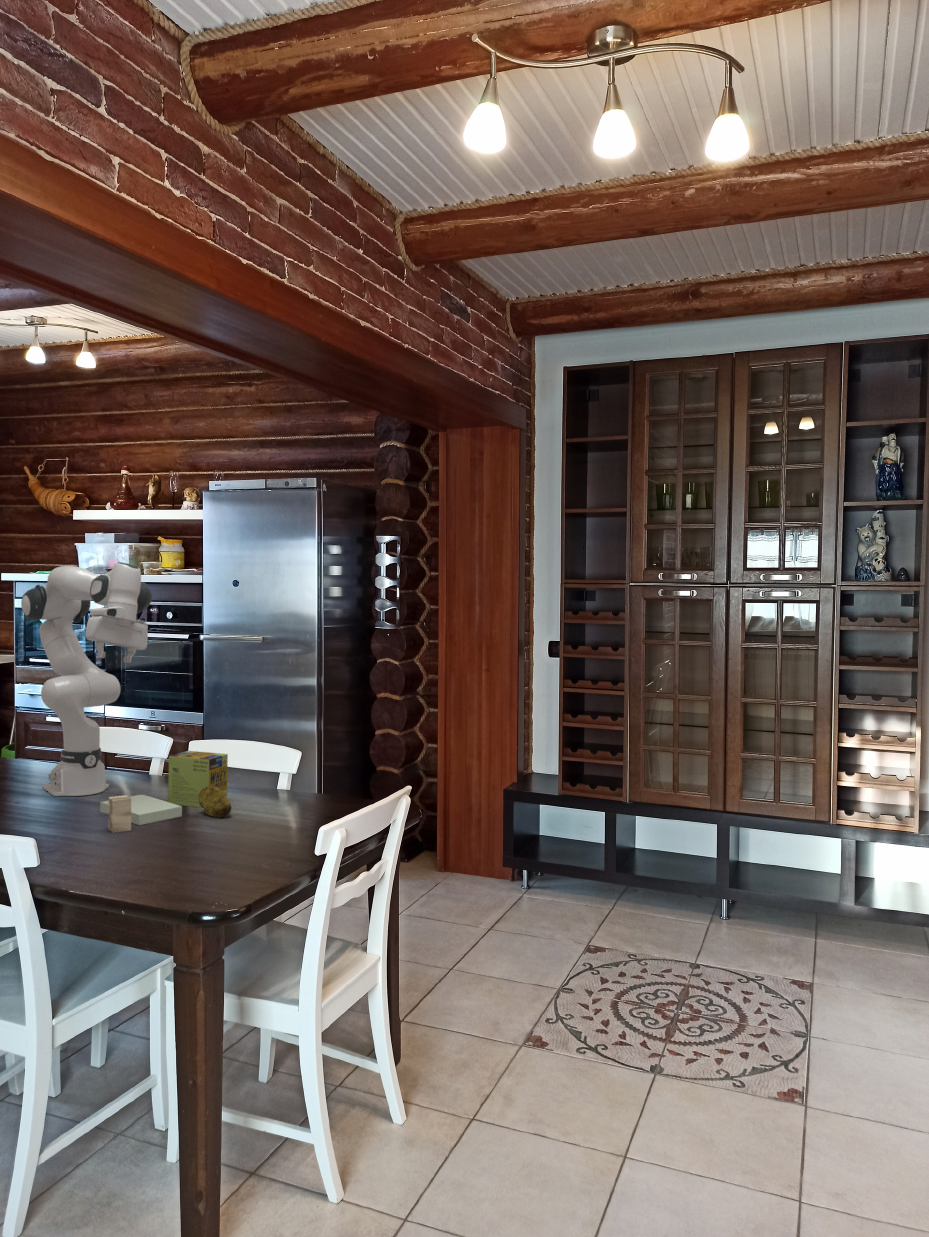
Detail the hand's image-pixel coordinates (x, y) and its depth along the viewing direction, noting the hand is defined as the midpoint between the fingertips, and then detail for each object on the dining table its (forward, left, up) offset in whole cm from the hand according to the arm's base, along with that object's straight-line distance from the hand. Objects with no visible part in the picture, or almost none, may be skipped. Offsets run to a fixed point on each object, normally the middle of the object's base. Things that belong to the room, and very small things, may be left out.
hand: (114, 660), depth 272 cm
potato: (+22, +20, -47) cm, 56 cm away
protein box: (+6, +25, -47) cm, 54 cm away
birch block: (+17, -8, -47) cm, 50 cm away
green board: (+6, +5, -47) cm, 47 cm away
